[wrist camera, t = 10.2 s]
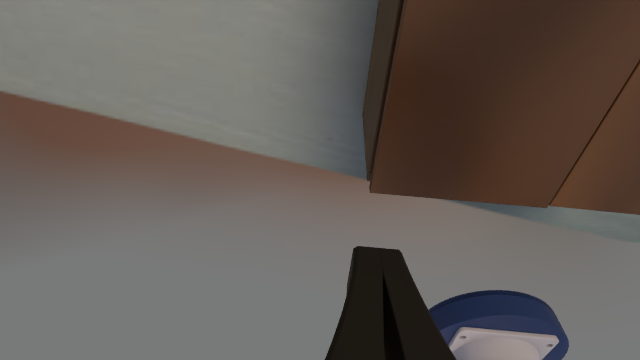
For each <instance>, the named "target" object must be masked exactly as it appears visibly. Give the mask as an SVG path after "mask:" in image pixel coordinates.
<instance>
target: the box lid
mask: <svg viewBox="0 0 640 360" xmlns="http://www.w3.org/2000/svg"><path fill="white" fill-rule="evenodd" d="M549 205H550V206H556V207H566V208H576V209H586V210H596V211H607V212H617V213H627V214H637V215H640V60H639V62H638V63H637V65H636V66H635V68H634V70H633V71H632V73H631V74H630V76H629V78H628V79H627V81H626V82H625V84H624V85H623V87H622V89H621V90H620V92H619V93H618V95H617V97H616V98H615V100H614V101H613V103H612V105H611V106H610V108H609V109H608V111H607V113H606V114H605V116H604V117H603V119H602V121H601V122H600V124H599V125H598V127H597V129H596V130H595V132H594V133H593V135H592V137H591V138H590V140H589V141H588V143H587V144H586V146H585V148H584V149H583V151H582V152H581V154H580V156H579V157H578V159H577V160H576V162H575V164H574V165H573V167H572V168H571V170H570V172H569V173H568V175H567V176H566V178H565V180H564V181H563V183H562V184H561V186H560V188H559V189H558V191H557V192H556V194H555V195H554V197H553V199H552V200H551V202H550V203H549Z"/></svg>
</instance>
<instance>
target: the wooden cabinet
mask: <svg viewBox="0 0 640 360" xmlns="http://www.w3.org/2000/svg"><path fill="white" fill-rule="evenodd" d="M639 60H640V0H379V4H378V11H377V18H376V25H375V32H374V38H373V45H372V52H371V59H370V66H369V73H368V80H367V87H366V94H365V101H364V107H363V129H364V143H365V158H366V173H367V181H370V193H379V194H391V195H403V196H415V197H425V198H437V199H449V200H460V201H472V202H484V203H495V204H507V205H519V206H530V207H542V208H547V207H548V205H549V203H550V202H551V200H552V199H553V197H554V195H555V194H556V192H557V191H558V189H559V188H560V186H561V184H562V183H563V181H564V180H565V178H566V176H567V175H568V173H569V172H570V170H571V168H572V167H573V165H574V164H575V162H576V160H577V159H578V157H579V156H580V154H581V152H582V151H583V149H584V148H585V146H586V144H587V143H588V141H589V140H590V138H591V137H592V135H593V133H594V132H595V130H596V129H597V127H598V125H599V124H600V122H601V121H602V119H603V117H604V116H605V114H606V113H607V111H608V109H609V108H610V106H611V105H612V103H613V101H614V100H615V98H616V97H617V95H618V93H619V92H620V90H621V89H622V87H623V85H624V84H625V82H626V81H627V79H628V78H629V76H630V74H631V73H632V71H633V70H634V68H635V66H636V65H637V63H638V62H639Z"/></svg>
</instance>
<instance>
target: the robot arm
mask: <svg viewBox="0 0 640 360" xmlns="http://www.w3.org/2000/svg"><path fill="white" fill-rule="evenodd" d="M558 342H559V340H558V338H557V336H555V335H548V334H537V333H526V332H516V331H505V330H494V329H483V328H473V327H460V328H459V329H458V330H457V331H456V333H455V335H454V336H453V338H452V340H451V341H450V343H449V345H447V343H446V341H445V340H444V338H443V336H442V334H441V333H440V331H439V329H438V327H437V326H436V324H435V322H434V320H433V318H432V316H431V314H430V313H429V311H428V309H427V307H426V305H425V303H424V301H423V299H422V297H421V295H420V293H419V291H418V289H417V287H416V285H415V283H414V281H413V278H412V276H411V274H410V272H409V270H408V267H407V265H406V263H405V260H404V258H403V255H402V253H401V252H400V251H399V250H396V249H385V248H373V247H362V246H357V247H356V248H354V249H353V254H352V260H351V266H350V272H349V277H348V283H347V296H346V300H345V303H344V307H343V311H342V314H341V317H340V320H339V323H338V326H337V329H336V332H335V334H334V337H333V340H332V343H331V346H330V348H329V351H328V353H327V356H326V358H325V360H542V359H543V358H544V357H545V356H546V355H547V354H548V353H549V352H550V351H551V350H552V349H553V348H554V347H555V346H556V345H557V344H558Z"/></svg>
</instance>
